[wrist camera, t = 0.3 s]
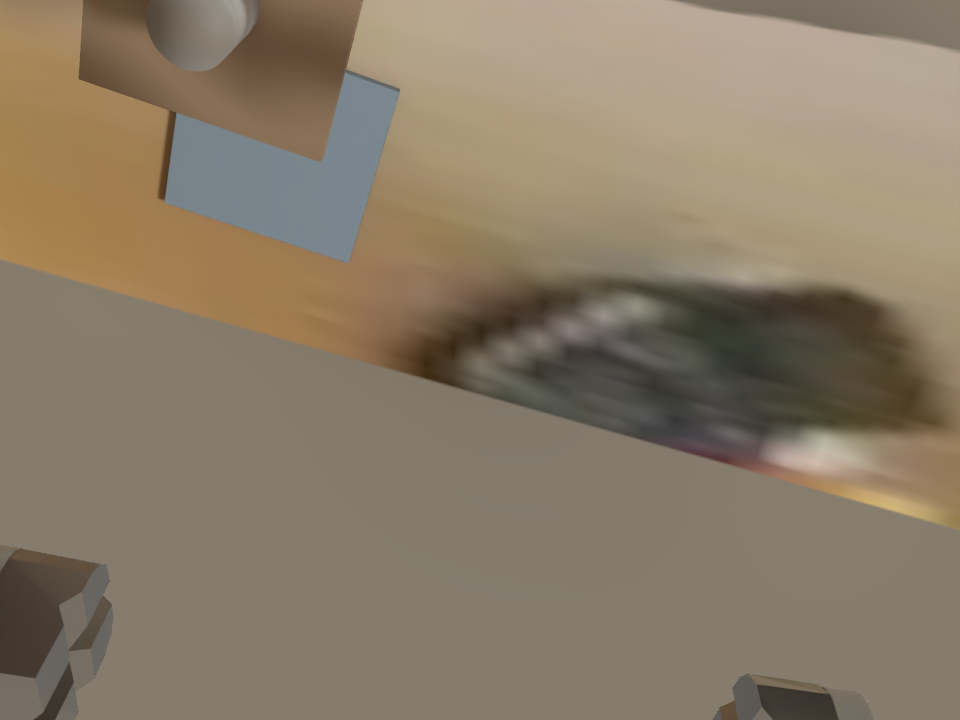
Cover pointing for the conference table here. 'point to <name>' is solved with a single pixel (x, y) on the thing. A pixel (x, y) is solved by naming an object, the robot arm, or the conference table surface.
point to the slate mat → (287, 174)
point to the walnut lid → (227, 62)
